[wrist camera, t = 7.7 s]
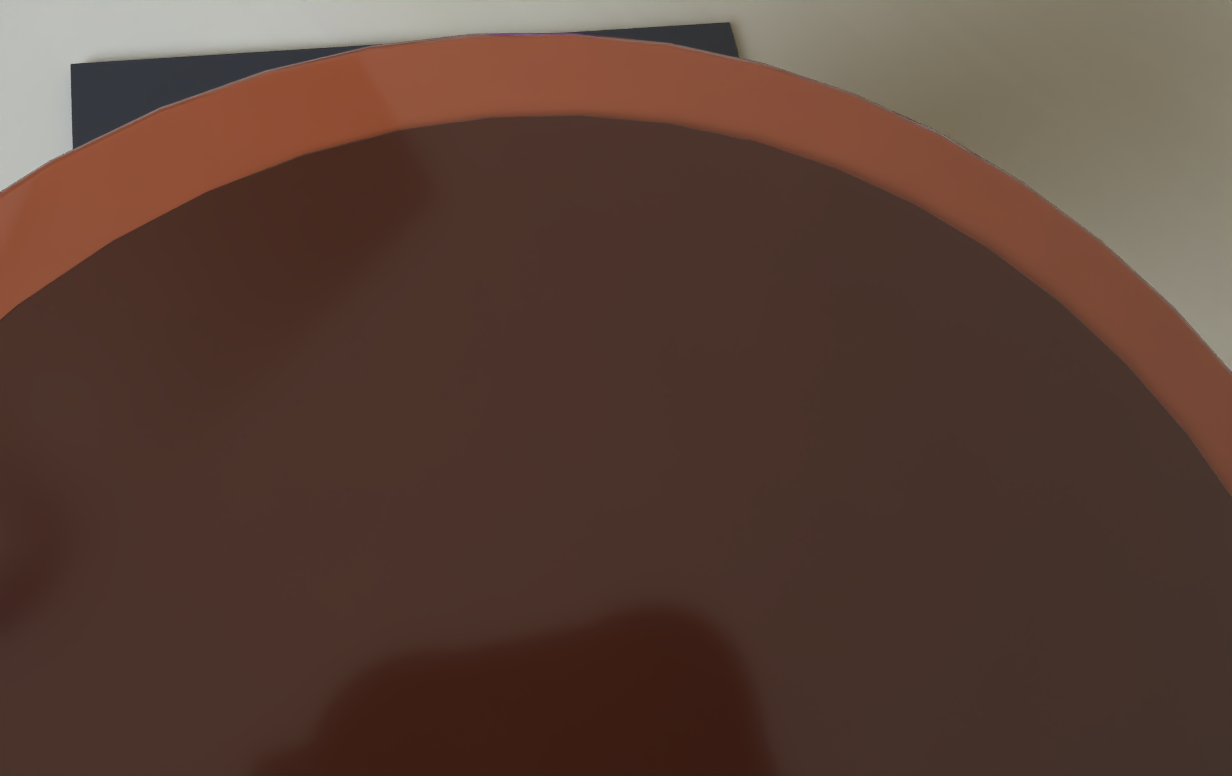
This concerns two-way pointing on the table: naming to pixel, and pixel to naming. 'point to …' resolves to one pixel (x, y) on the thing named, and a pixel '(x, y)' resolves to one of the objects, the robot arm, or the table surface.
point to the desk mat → (148, 84)
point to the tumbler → (592, 439)
